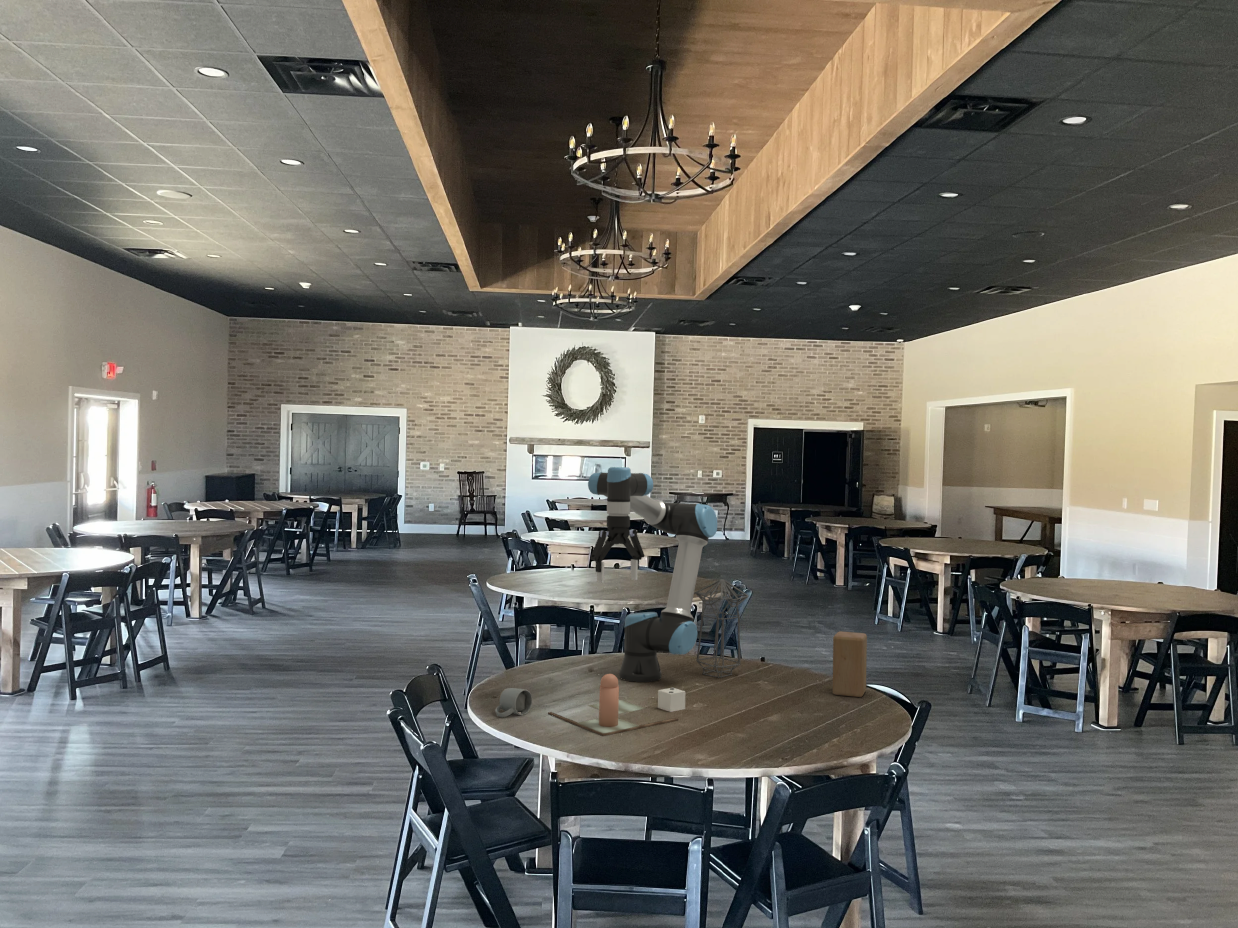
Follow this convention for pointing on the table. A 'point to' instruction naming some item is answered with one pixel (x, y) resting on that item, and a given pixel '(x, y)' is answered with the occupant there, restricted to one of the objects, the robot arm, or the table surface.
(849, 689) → the wooden block
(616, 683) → the pawn
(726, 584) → the geometric lantern
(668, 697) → the off-white cube
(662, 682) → the table surface
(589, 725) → the game board
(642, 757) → the table surface
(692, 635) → the robot arm
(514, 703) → the ceramic mug
